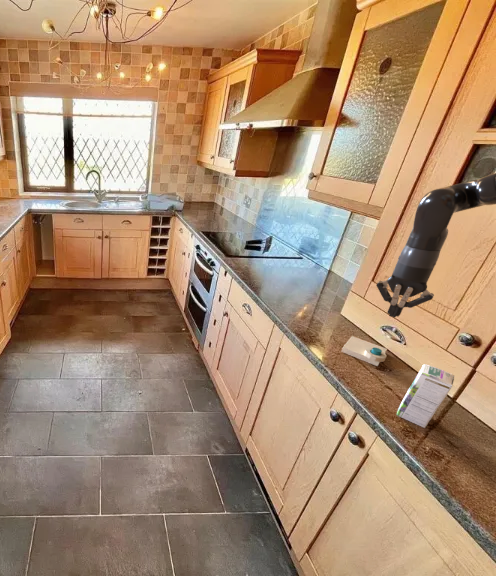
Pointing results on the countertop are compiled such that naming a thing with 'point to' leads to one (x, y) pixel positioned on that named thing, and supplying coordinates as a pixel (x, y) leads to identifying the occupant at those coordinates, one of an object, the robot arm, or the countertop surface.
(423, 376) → the syrup box
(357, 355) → the scale
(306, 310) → the countertop surface
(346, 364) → the countertop surface
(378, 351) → the tare button
